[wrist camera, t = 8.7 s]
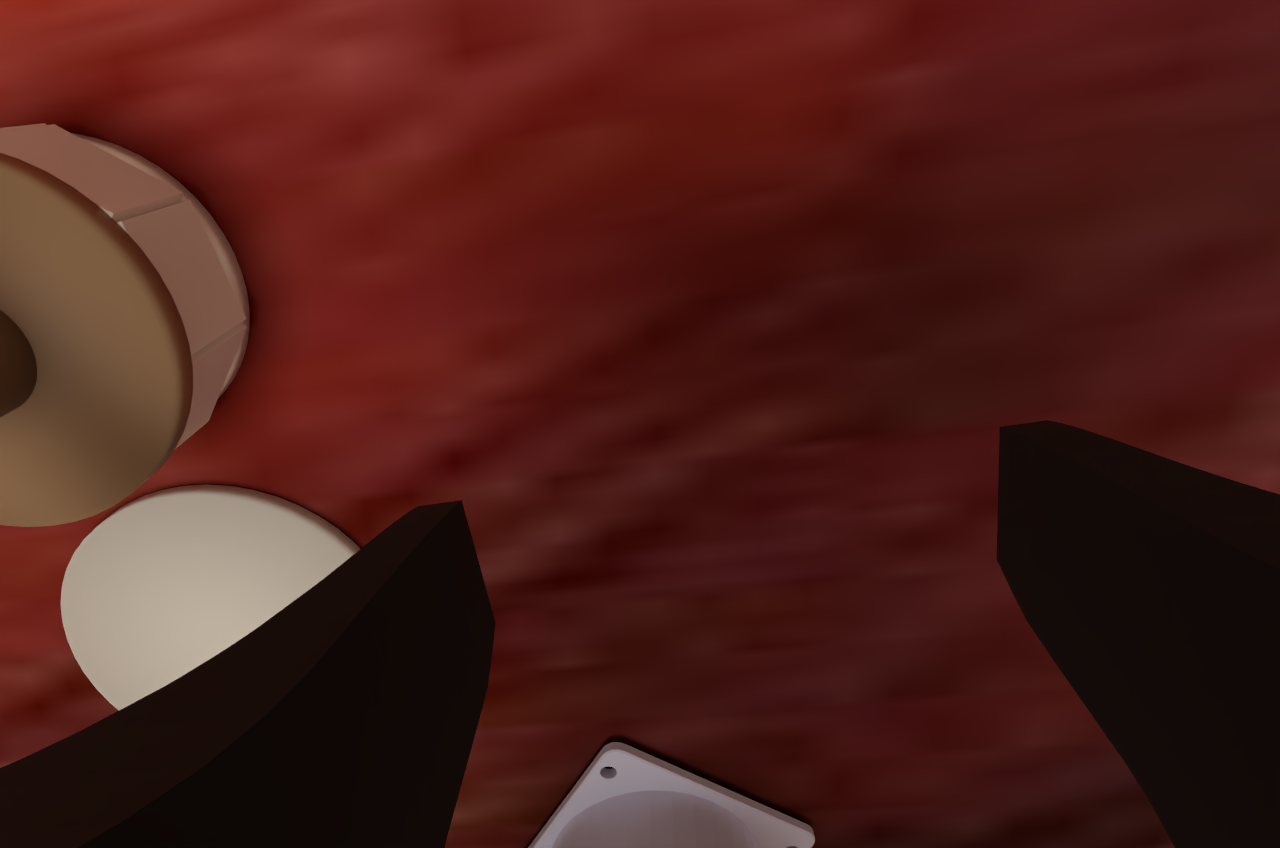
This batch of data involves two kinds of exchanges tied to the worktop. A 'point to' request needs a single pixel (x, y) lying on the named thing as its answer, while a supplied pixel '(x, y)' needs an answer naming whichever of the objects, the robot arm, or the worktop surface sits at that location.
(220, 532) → the coaster
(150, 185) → the bowl
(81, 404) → the lid
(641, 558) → the worktop surface
